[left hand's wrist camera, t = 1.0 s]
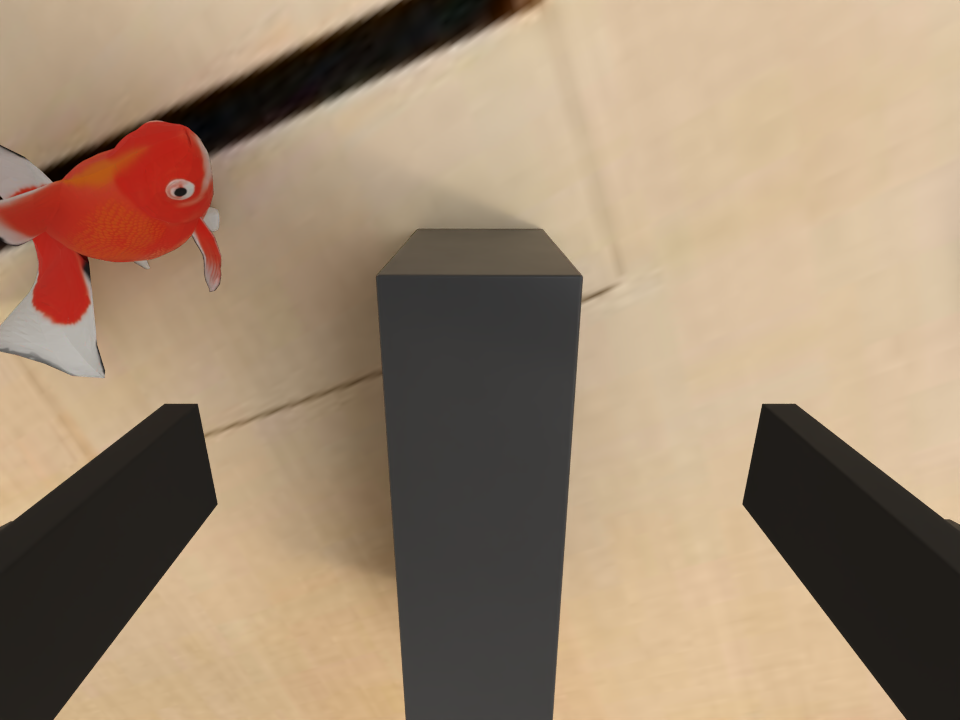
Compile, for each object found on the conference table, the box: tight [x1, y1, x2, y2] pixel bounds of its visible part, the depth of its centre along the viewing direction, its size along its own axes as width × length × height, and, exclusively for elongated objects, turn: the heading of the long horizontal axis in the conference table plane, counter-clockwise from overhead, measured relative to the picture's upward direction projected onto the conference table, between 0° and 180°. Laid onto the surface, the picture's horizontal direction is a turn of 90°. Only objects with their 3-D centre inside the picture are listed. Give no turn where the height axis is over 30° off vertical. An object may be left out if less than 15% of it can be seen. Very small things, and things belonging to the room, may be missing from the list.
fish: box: [0, 120, 221, 378], centre depth 24 cm, size 11×16×10 cm
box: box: [376, 229, 583, 720], centre depth 26 cm, size 23×6×11 cm, turn 0°
